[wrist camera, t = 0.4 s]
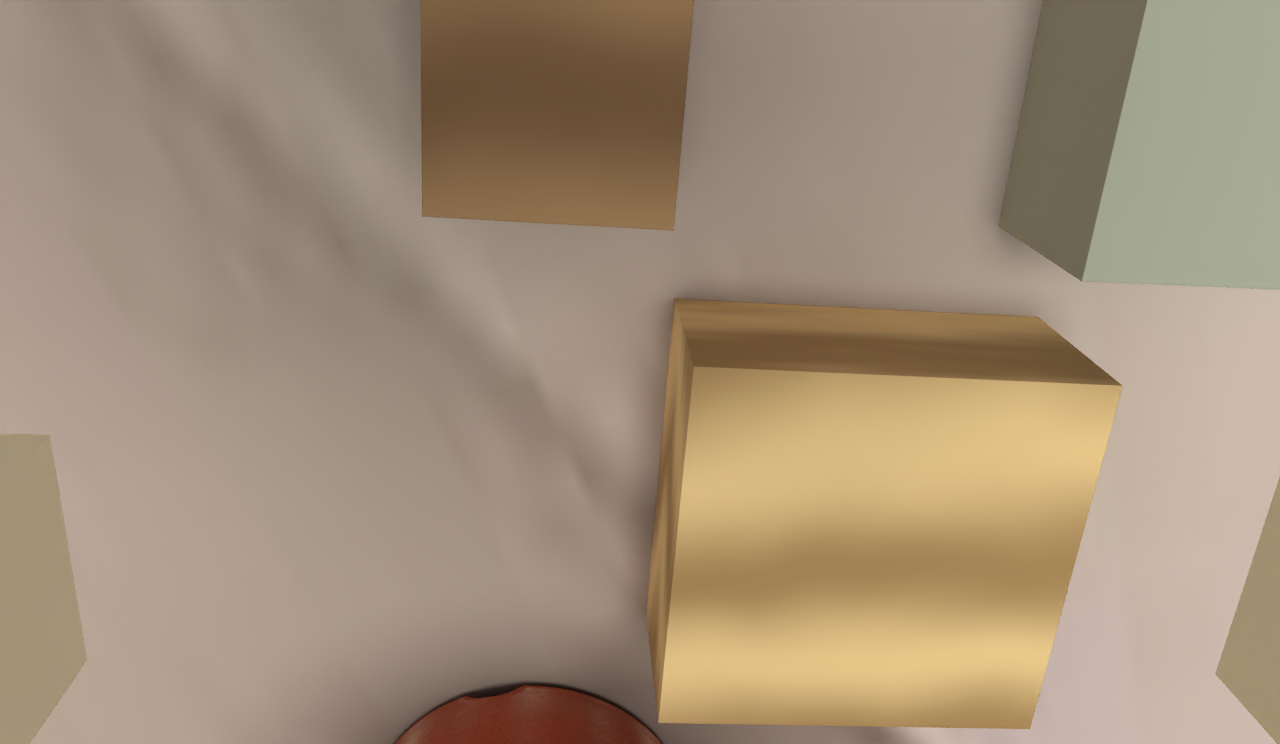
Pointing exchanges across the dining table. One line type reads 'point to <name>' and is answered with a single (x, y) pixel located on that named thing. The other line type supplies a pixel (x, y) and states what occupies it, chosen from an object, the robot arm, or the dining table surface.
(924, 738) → the dining table surface
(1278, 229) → the sage green pedestal
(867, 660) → the oak pedestal
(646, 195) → the walnut block
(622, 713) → the flower pot
